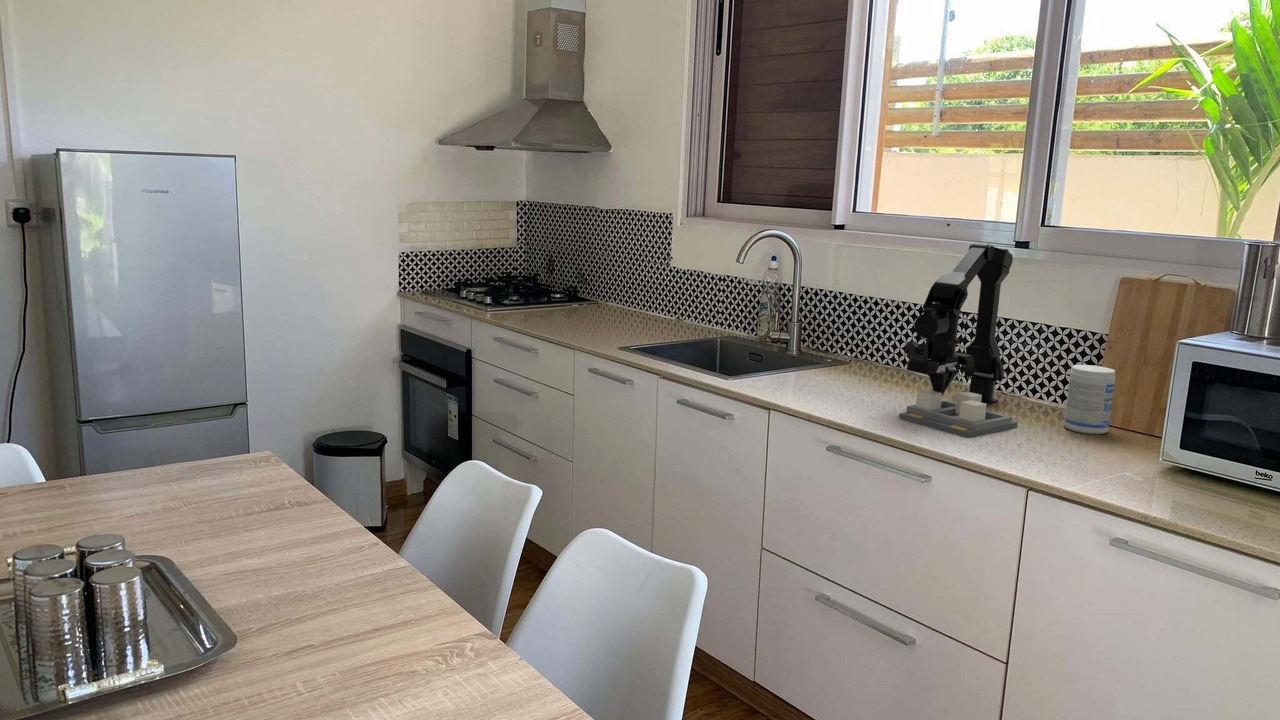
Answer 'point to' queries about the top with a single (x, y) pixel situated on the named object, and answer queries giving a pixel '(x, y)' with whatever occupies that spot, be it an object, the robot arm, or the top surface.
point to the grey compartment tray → (957, 420)
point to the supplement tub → (1089, 399)
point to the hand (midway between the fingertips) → (937, 398)
